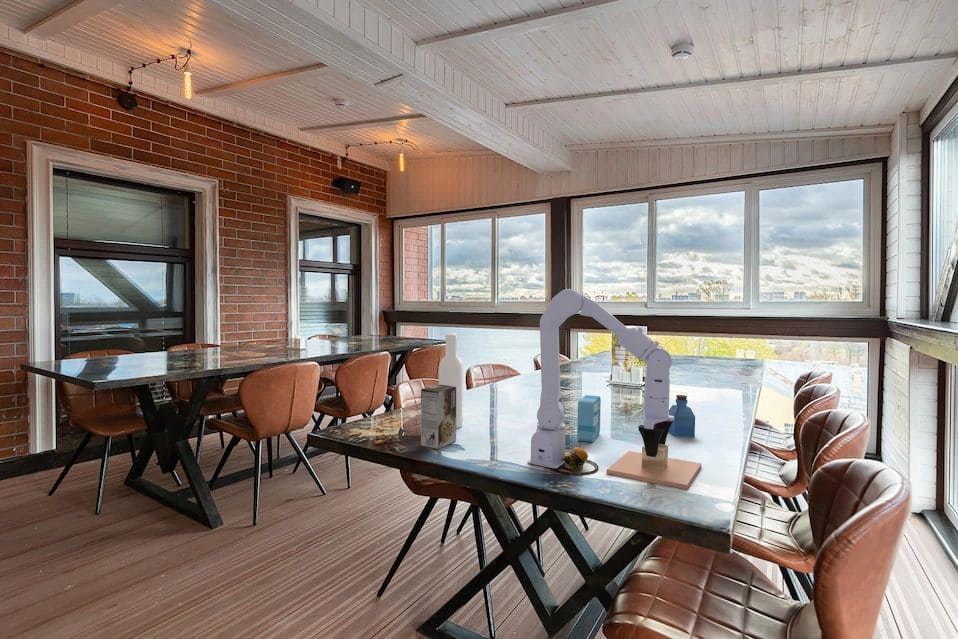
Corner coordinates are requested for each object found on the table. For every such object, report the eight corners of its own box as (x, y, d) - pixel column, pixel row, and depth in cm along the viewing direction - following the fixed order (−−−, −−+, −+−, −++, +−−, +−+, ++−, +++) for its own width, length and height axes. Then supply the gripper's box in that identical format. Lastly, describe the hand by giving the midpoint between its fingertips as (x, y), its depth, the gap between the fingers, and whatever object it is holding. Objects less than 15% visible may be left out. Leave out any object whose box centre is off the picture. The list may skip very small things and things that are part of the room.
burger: (558, 461, 133) (558, 432, 132) (603, 468, 127) (604, 439, 127) (543, 474, 122) (544, 444, 122) (592, 483, 117) (592, 451, 116)
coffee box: (438, 438, 149) (439, 383, 149) (456, 441, 146) (457, 386, 145) (419, 445, 141) (420, 388, 141) (438, 449, 138) (438, 390, 137)
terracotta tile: (686, 489, 110) (687, 485, 110) (606, 473, 120) (606, 469, 120) (701, 467, 125) (701, 463, 125) (628, 454, 135) (628, 450, 135)
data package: (592, 443, 145) (593, 402, 145) (576, 441, 147) (577, 401, 147) (600, 434, 156) (600, 395, 156) (585, 432, 158) (586, 394, 158)
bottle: (434, 428, 161) (435, 334, 160) (443, 422, 168) (444, 332, 167) (458, 430, 159) (459, 335, 158) (465, 424, 166) (467, 333, 165)
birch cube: (663, 471, 119) (663, 450, 119) (641, 467, 122) (642, 446, 122) (667, 465, 123) (668, 445, 123) (646, 461, 126) (647, 441, 126)
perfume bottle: (694, 436, 154) (695, 397, 154) (674, 436, 154) (675, 397, 154) (686, 431, 160) (687, 394, 160) (667, 431, 160) (668, 393, 160)
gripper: (667, 403, 114) (665, 463, 114) (680, 394, 126) (679, 448, 126) (635, 400, 118) (634, 457, 118) (651, 391, 130) (650, 443, 130)
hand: (655, 452), depth 122 cm, fingers open, 7 cm apart
